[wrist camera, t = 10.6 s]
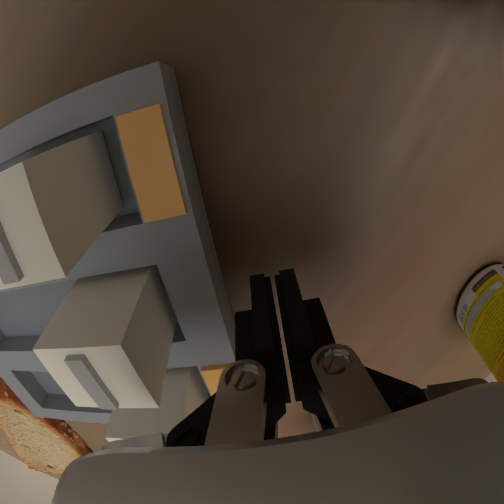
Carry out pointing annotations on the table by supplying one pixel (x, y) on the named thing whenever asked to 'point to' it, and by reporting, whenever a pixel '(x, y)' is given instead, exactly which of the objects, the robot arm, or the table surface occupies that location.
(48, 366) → the tab
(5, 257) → the beige switch slider block
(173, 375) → the tab
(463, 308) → the supplement bottle
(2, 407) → the bread slice
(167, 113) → the switch bank
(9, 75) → the table surface
